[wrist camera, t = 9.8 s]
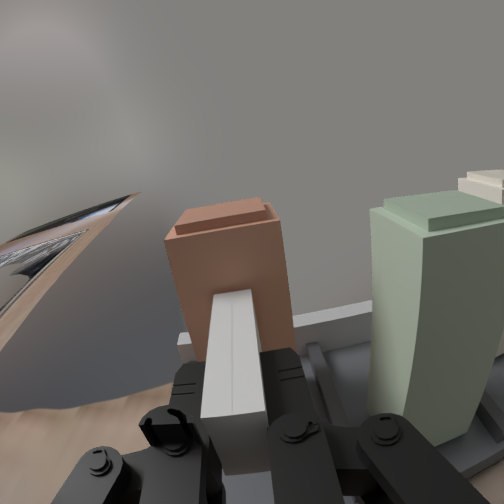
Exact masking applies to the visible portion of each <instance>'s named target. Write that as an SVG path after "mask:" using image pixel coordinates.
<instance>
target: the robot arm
mask: <svg viewBox="0 0 504 504" xmlns="http://www.w3.org/2000/svg"><path fill="white" fill-rule="evenodd" d="M173 386H174V387H173V388H172V393H171V395H172V396H171V398H170V403H169V405H165V406H160V407H157V408H155V409H153V410H151V411H149V412H148V413H147V414H146V415H145V416H144V417H142V419H141V421H140V423H139V427H140V428H141V430H142V432H143V434H144V435H145V437H146V439H147V440H148V442H149V444H150V445H151V446H150V447H149V448H147V449H144V450H141V451H138V452H134V453H130V454H126V455H120V454H119V452H118V451H117V450H115V449H113V448H111V447H105V446H101V447H96V448H93V449H91V450H89V451H88V452H86V453H85V454H84V455H83V456H82V457H81V458H80V460H79V461H78V463H77V464H76V466H75V467H74V469H73V470H72V472H71V473H70V475H69V476H68V478H67V480H66V481H65V483H64V484H63V486H62V487H61V489H60V490H59V492H58V493H57V495H56V496H55V498H54V499H53V501H52V503H51V504H226V490H225V487H224V484H223V482H222V469H223V472H224V474H225V476H230V475H241V474H251V473H259V472H267V471H271V478H272V487H273V495H274V504H345V502H344V498H343V496H354V498H355V499H356V501H357V502H358V504H490V503H489V502H488V501H487V500H486V499H485V498H484V497H483V496H482V495H481V494H480V493H479V492H478V491H477V490H476V489H475V488H474V487H473V486H472V485H471V484H470V483H469V482H468V481H467V480H466V479H465V477H464V476H463V475H462V474H461V473H460V472H459V471H458V470H457V469H456V468H455V467H454V466H453V465H452V464H451V463H450V462H449V461H448V460H447V459H446V458H445V457H444V456H443V455H442V454H441V453H440V452H439V451H438V450H437V449H436V448H435V447H434V446H433V445H432V444H431V443H430V442H429V441H428V440H427V439H426V438H425V437H424V436H423V435H422V434H421V433H420V432H419V431H418V430H417V429H416V428H415V427H414V426H413V425H412V424H411V423H410V422H409V421H408V420H407V419H405V418H404V417H402V416H401V415H397V414H393V413H380V414H377V415H374V416H371V417H369V418H368V419H367V420H365V421H364V422H363V423H362V424H361V426H360V427H341V426H334V425H331V424H328V423H326V422H325V421H323V420H322V419H321V418H320V417H319V416H318V415H317V413H316V411H315V408H314V405H313V401H312V398H311V394H310V391H309V388H308V384H307V381H306V377H305V374H304V370H303V368H302V364H301V360H300V357H299V355H298V354H297V353H296V352H295V351H294V350H293V349H291V348H290V347H288V348H282V349H277V350H271V351H265V352H262V349H261V342H260V337H259V331H258V326H257V320H256V315H255V309H254V304H253V298H252V292H251V289H246V290H240V291H234V292H228V293H221V294H215V295H214V297H213V305H212V313H211V322H210V330H209V339H208V348H207V357H206V361H202V362H193V363H184V364H183V365H182V366H181V368H180V369H179V370H178V371H177V373H176V375H175V379H174V384H173Z"/></svg>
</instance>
